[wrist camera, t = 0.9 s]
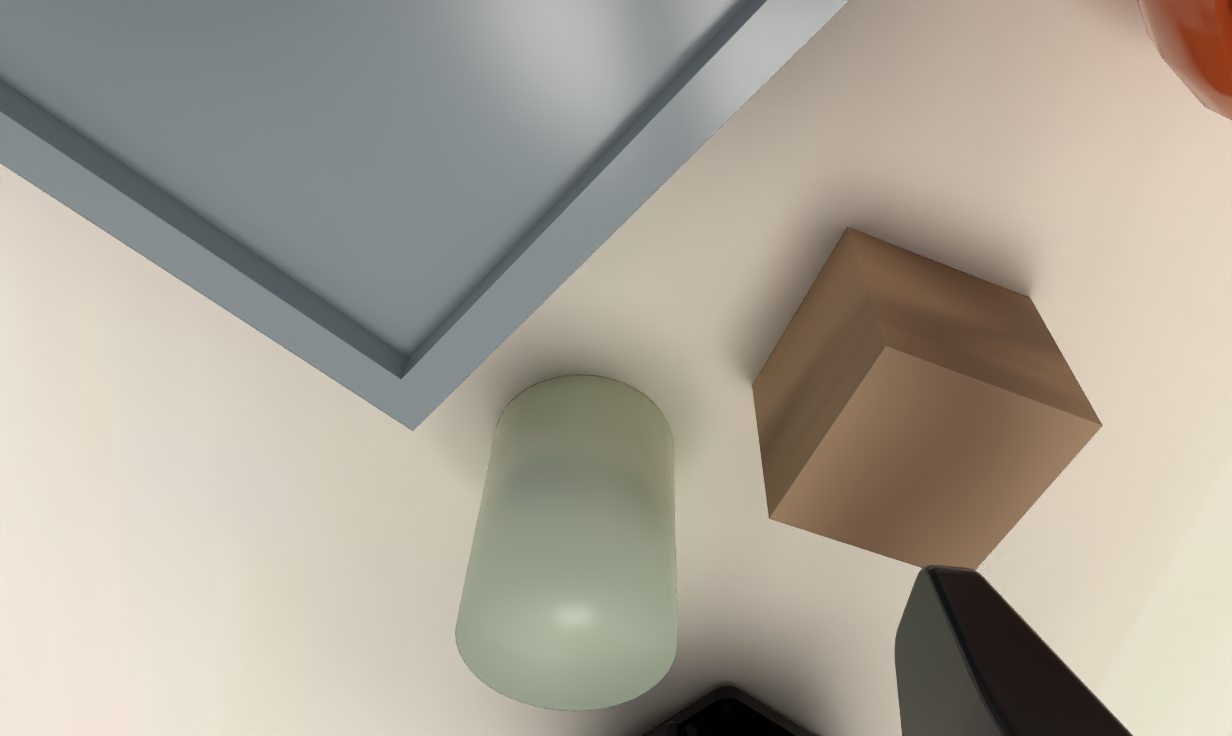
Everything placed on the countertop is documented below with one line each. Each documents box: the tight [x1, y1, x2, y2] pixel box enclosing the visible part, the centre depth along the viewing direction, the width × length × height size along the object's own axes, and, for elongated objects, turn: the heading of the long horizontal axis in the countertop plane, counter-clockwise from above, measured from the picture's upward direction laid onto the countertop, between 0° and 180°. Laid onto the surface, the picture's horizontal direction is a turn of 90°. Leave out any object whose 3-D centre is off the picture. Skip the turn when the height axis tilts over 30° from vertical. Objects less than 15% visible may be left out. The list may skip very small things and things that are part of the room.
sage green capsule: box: [455, 375, 677, 711], centre depth 23 cm, size 4×4×6 cm
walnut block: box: [752, 227, 1102, 570], centre depth 21 cm, size 4×4×4 cm
